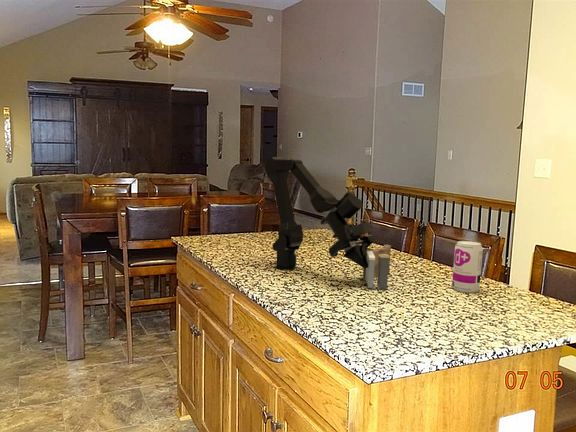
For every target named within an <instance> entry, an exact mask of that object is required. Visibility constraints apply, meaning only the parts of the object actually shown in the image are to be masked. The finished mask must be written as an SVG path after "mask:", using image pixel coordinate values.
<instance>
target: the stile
mask: <svg viewBox="0 0 576 432" xmlns="http://www.w3.org/2000/svg"><path fill="white" fill-rule="evenodd" d="M378 256H379V264H378V277H377V283H376V288H377V289H378V290H388V279H389V278H388V277H389V274H388V265H389V258H390V259H391V255H390V256H389V255H388V254H378Z"/></svg>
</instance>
